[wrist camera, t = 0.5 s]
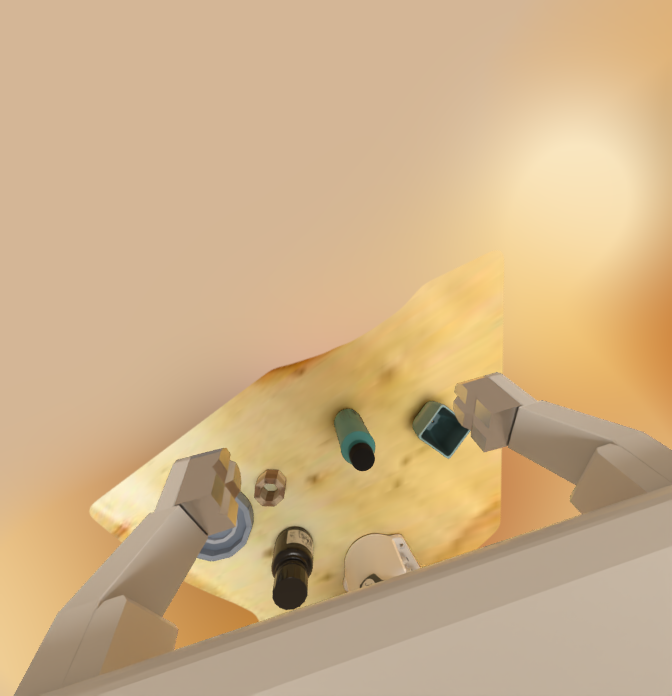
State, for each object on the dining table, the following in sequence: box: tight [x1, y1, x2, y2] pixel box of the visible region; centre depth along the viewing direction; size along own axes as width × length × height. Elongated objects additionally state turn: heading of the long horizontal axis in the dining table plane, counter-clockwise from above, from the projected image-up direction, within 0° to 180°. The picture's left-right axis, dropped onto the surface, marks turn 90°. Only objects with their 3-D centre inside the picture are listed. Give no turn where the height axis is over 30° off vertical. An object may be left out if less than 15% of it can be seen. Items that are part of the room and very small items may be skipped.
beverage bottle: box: [334, 409, 375, 471], centre depth 51 cm, size 6×7×20 cm
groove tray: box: [197, 492, 253, 561], centre depth 59 cm, size 16×16×3 cm
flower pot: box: [412, 401, 471, 459], centre depth 59 cm, size 9×9×9 cm
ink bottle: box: [272, 527, 313, 610], centre depth 56 cm, size 10×9×12 cm
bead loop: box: [254, 470, 286, 506], centre depth 59 cm, size 6×6×4 cm
